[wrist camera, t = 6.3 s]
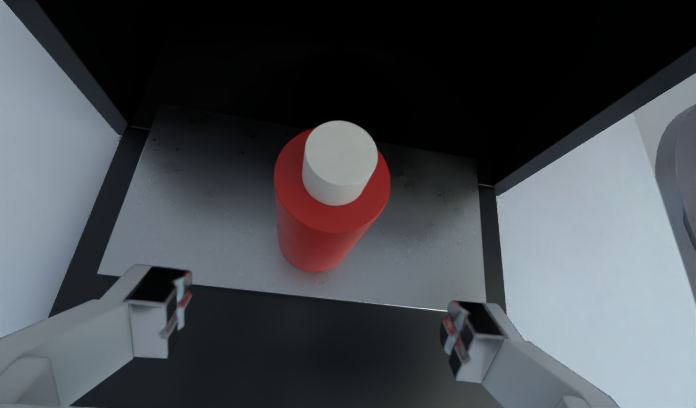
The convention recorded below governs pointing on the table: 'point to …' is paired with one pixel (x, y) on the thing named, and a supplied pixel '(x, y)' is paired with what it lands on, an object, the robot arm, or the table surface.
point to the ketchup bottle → (327, 193)
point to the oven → (310, 112)
